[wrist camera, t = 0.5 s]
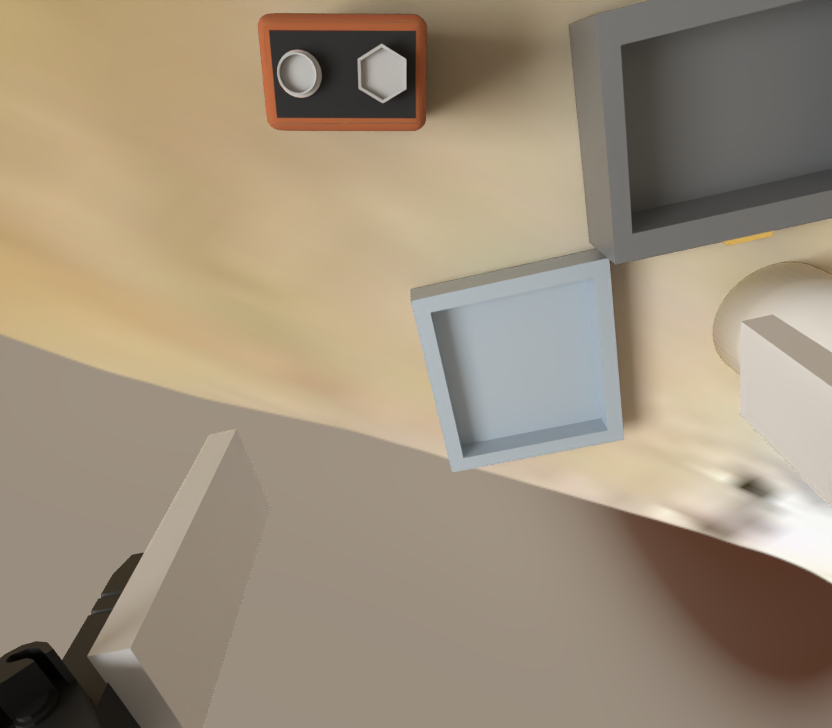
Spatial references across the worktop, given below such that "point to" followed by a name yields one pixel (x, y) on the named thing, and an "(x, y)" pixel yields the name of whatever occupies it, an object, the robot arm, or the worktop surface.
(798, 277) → the white rounded cylinder
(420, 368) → the worktop surface
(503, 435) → the tray
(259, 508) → the robot arm
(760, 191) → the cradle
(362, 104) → the battery
